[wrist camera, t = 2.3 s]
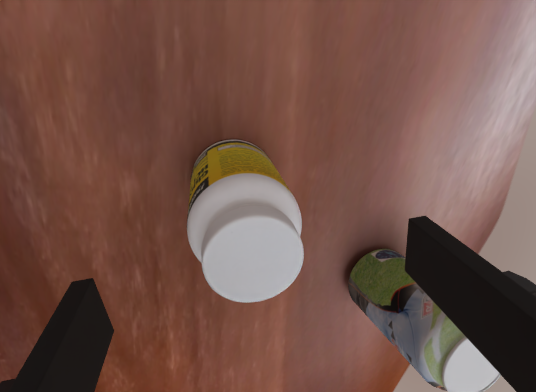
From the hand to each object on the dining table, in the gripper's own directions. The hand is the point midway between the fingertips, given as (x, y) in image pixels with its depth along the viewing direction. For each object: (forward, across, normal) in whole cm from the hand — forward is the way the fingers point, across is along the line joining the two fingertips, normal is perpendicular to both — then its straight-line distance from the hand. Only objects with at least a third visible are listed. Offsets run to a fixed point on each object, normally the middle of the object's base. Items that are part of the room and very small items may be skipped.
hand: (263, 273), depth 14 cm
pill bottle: (+12, 0, 0) cm, 12 cm away
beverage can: (+12, -12, +11) cm, 20 cm away
